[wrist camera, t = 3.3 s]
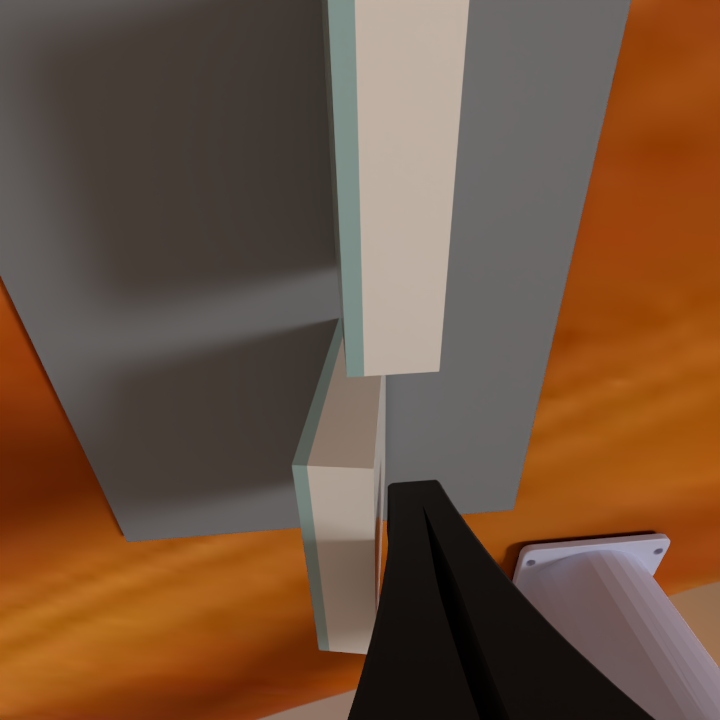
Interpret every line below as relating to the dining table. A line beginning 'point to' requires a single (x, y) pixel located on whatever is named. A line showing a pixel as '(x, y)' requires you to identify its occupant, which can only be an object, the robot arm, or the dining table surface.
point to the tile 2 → (393, 173)
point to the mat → (274, 243)
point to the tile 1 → (343, 501)
